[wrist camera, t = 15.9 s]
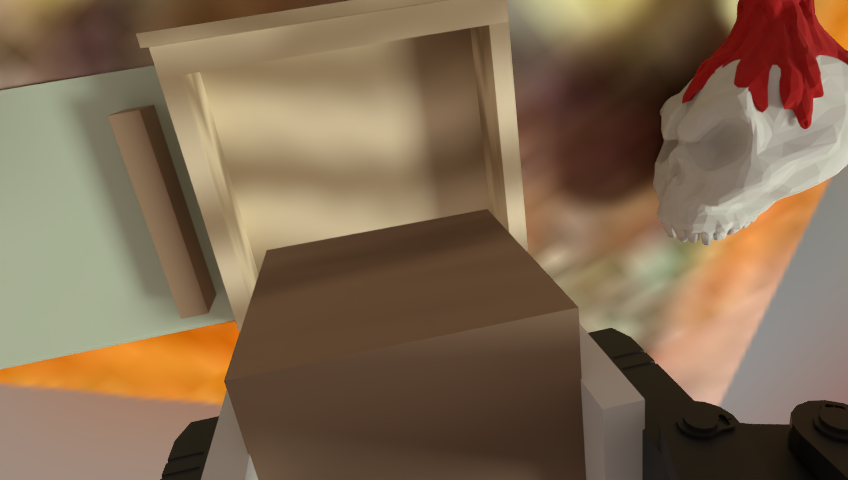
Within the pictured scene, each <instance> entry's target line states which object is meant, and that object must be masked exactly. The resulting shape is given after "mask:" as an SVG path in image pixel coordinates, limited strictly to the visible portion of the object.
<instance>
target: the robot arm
mask: <svg viewBox="0 0 848 480" xmlns="http://www.w3.org/2000/svg"><path fill="white" fill-rule="evenodd" d="M579 331H580V352H581V374H582V379H581V395H582V412H583V430H584V448H585V466H586V480H848V405H846V404H844V403H838V402H832V401H826V400H821V401H807V402H805V403H803V404H799V405H797V406H796V407H795V409H794V410H793V411H792V412H791V417H790V425H779V424H776V425H774V424H772V425H771V424H745V423H739V421H738V420H737V419H736V418H735V417H734V416H733V415H732V414H730V413H729V412H727V411H725V410H724V409H722V408H721V407H718V406H715V405H712V404H709V403H706V402H699V401H694V400H693V399H692V398H691V397H690V396H689V395H688V394H687V393H686V392H685V391H684V390H683V389H682V388H681V387H680V386H679V385H678V384H677V383H676V382H675V381H674V380H673V379H672V378H671V377H670V376H669V375H668V374H667V373H666V372H665V371H664V370H663V369H662V368H661V367H660V366H659V365H658V364H655V362H654V360H653V359H652V358H651V357H650V356H649V355H648V354H647V353H644V350H643V349H642V348H641V347H640V346H639V345H638V344H637V343H636V342H635V341H634V340H633V339H632V338H631V337H629V336H627V335H625V334H623V333H621V332H619V331H617V330H615V329H613V328H608V329H604V330H599V331H595V332H590V333H587V332H586V331H585V329H584V328H583V327H582V326H581V325H580V324H579ZM160 480H258V478H257V475H256V472H255V469H254V466H253V463H252V460H251V457H250V454H248V452H247V449H246V446H245V443H244V440H243V437H242V434H241V431H240V428H239V425H238V422H237V419H236V415H235V412H234V409H233V406H232V403H231V400H230V397H229V394H228V391H226V395H225V398H224V402H223V405H222V409H221V412H220V415H219V416H218V417H213V418H209V419H205V420H200V421H195V422H191V423H190V424H189V425H188V426H187V428H186V429H185V430H184V431H183V432H182V433H181V434H180V436H179V437H178V438H177V439H176V440H175V442H174V445H173V447H172V450H171V452H170V455H169V458H168V463H167V464H166V465H165V468H164V471H163V473H162V479H160Z"/></svg>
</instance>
